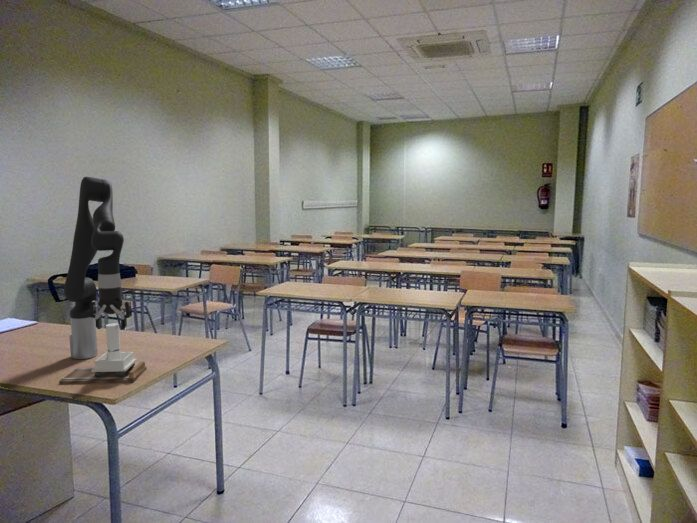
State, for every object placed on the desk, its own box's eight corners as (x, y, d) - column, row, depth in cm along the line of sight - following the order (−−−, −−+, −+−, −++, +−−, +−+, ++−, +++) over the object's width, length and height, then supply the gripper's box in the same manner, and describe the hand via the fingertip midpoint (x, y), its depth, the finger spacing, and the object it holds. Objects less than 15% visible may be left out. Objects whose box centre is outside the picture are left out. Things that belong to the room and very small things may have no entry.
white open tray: (91, 378, 180) (90, 361, 179) (105, 367, 192) (104, 351, 191) (125, 377, 181) (125, 361, 180) (137, 366, 193) (136, 351, 192)
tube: (111, 362, 188) (108, 323, 186) (122, 361, 188) (120, 323, 186) (106, 365, 184) (103, 326, 182) (118, 365, 184) (115, 326, 182)
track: (59, 384, 178) (58, 374, 178) (77, 370, 192) (77, 362, 192) (133, 382, 180) (133, 373, 180) (146, 369, 194) (146, 360, 194)
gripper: (84, 287, 178) (87, 331, 180) (125, 287, 178) (127, 331, 180) (94, 283, 185) (96, 326, 187) (133, 283, 186) (135, 326, 188)
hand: (111, 328), depth 184 cm, fingers open, 8 cm apart
